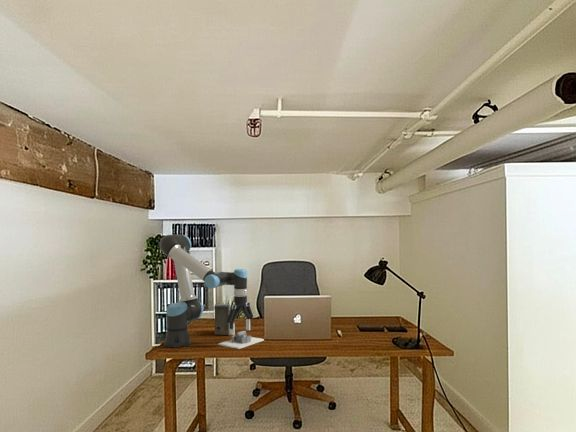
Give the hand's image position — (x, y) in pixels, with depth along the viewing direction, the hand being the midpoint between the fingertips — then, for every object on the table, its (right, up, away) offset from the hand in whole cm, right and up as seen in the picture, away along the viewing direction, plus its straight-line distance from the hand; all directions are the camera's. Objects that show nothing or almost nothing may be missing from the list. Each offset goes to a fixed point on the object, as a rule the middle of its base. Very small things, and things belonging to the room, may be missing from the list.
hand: (240, 332), depth 253 cm
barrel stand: (+1, -6, 0) cm, 6 cm away
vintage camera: (-13, -8, +25) cm, 29 cm away
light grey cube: (+1, -5, -1) cm, 5 cm away
